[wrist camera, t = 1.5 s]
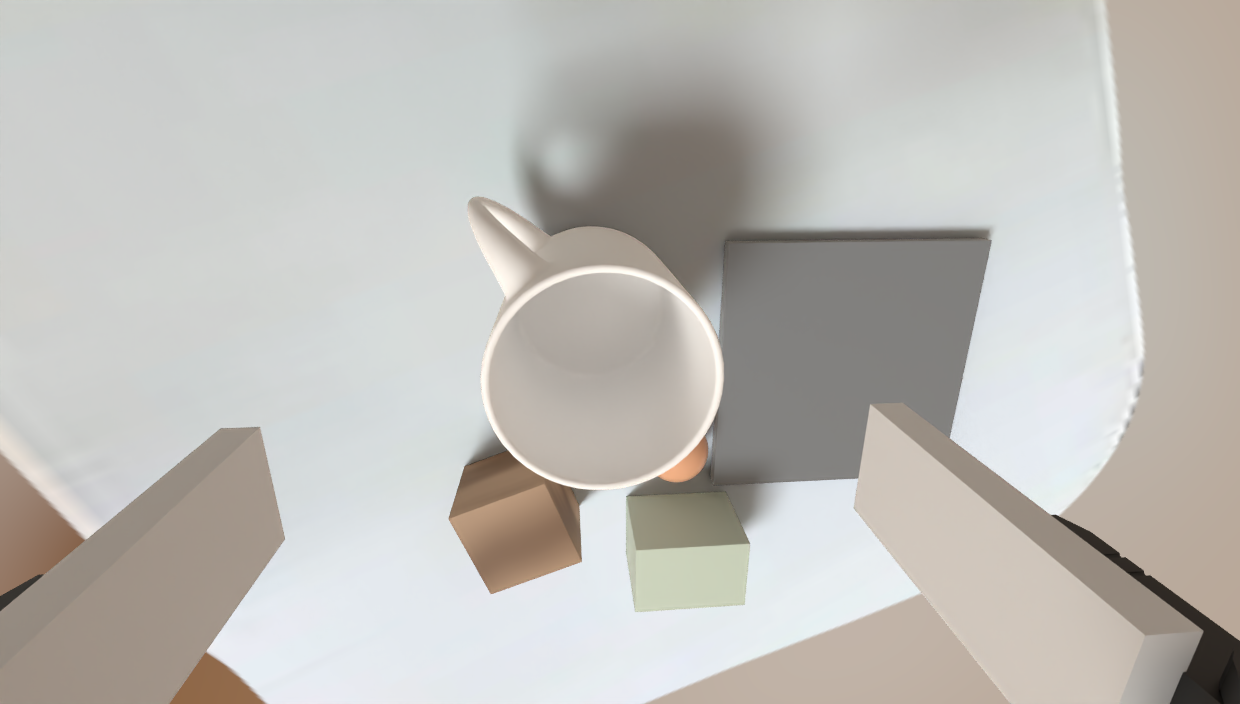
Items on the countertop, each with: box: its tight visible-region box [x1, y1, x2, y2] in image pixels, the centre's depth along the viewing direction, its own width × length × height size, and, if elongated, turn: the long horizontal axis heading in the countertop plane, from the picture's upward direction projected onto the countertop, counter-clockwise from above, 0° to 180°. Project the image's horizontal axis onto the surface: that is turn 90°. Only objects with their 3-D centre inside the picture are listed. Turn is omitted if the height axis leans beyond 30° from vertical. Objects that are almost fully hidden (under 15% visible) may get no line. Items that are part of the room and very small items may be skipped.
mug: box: [468, 197, 724, 490], centre depth 25 cm, size 9×12×11 cm
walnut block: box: [449, 451, 582, 594], centre depth 32 cm, size 5×5×5 cm
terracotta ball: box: [658, 435, 708, 482], centre depth 32 cm, size 4×4×4 cm
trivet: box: [710, 238, 992, 485], centre depth 33 cm, size 14×14×1 cm
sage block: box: [626, 491, 750, 612], centre depth 33 cm, size 4×6×5 cm, turn 90°
